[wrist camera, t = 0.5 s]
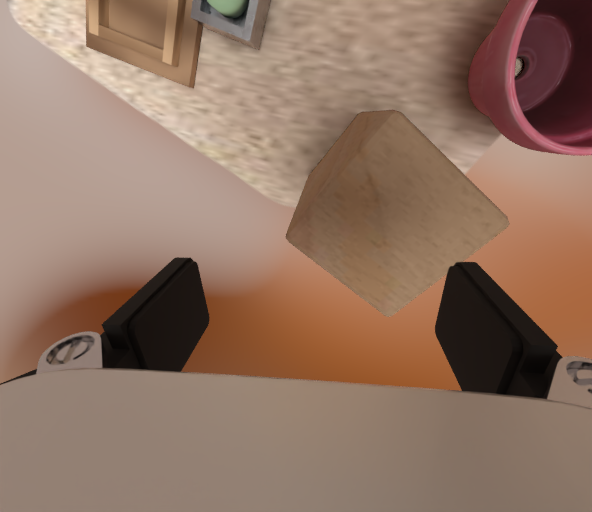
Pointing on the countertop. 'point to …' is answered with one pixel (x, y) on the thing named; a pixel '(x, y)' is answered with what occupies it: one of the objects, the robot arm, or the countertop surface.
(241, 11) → the button
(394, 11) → the countertop surface
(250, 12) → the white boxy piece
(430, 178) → the wooden block
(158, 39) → the brown wooden square tray
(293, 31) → the countertop surface
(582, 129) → the plant pot
